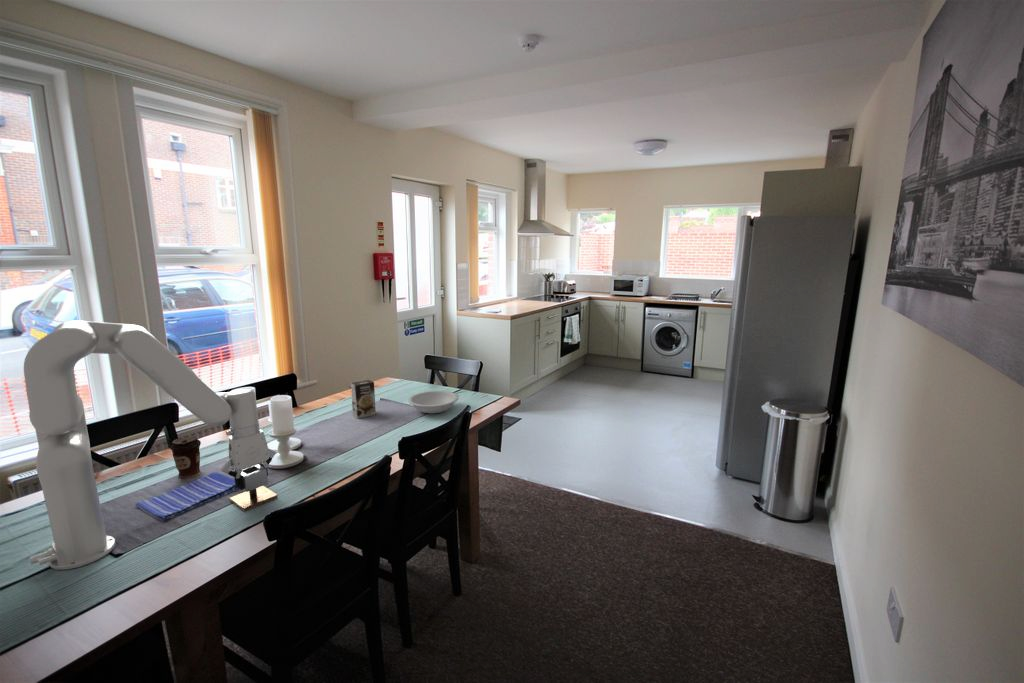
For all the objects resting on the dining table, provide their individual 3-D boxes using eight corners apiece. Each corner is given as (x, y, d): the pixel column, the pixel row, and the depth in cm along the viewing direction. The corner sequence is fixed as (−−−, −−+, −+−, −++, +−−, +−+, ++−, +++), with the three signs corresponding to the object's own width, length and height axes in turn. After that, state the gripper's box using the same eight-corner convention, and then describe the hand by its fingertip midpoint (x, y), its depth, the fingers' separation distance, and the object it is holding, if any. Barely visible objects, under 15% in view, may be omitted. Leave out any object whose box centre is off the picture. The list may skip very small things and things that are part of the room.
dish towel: (244, 488, 154) (243, 480, 154) (163, 523, 134) (161, 515, 134) (215, 475, 163) (214, 468, 162) (135, 507, 142) (133, 499, 142)
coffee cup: (188, 481, 157) (183, 445, 155) (168, 479, 159) (162, 443, 156) (210, 470, 166) (205, 435, 163) (190, 468, 167) (185, 434, 165)
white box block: (246, 492, 141) (244, 477, 140) (237, 485, 145) (235, 471, 144) (268, 483, 146) (266, 468, 145) (258, 477, 150) (256, 463, 149)
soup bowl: (399, 410, 227) (398, 397, 226) (441, 399, 243) (440, 387, 241) (426, 423, 209) (425, 409, 208) (468, 411, 225) (468, 398, 224)
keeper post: (244, 511, 139) (241, 490, 138) (229, 500, 145) (227, 480, 144) (277, 497, 147) (275, 477, 146) (262, 488, 153) (260, 468, 152)
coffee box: (357, 419, 215) (355, 385, 212) (352, 415, 220) (350, 382, 217) (376, 414, 221) (374, 382, 218) (371, 411, 226) (369, 379, 222)
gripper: (219, 442, 133) (227, 499, 136) (279, 423, 146) (285, 476, 150) (208, 435, 137) (217, 491, 141) (268, 418, 151) (274, 469, 154)
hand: (252, 483), depth 145 cm, fingers closed on white box block, 6 cm apart
